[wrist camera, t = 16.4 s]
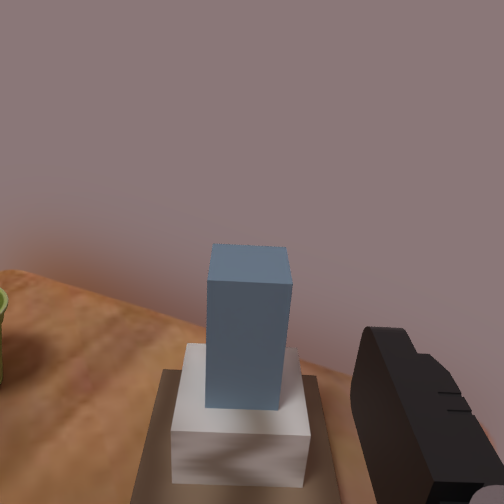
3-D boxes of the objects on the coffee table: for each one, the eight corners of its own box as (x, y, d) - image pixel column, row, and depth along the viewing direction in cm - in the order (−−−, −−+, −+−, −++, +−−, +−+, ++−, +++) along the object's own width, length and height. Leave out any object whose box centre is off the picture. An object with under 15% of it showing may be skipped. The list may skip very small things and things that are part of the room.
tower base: (129, 546, 30) (121, 462, 27) (163, 394, 43) (161, 323, 40) (338, 552, 31) (357, 470, 27) (312, 400, 44) (323, 331, 40)
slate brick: (204, 407, 31) (207, 280, 27) (210, 359, 36) (212, 243, 31) (278, 410, 31) (292, 284, 27) (274, 362, 36) (286, 247, 31)
